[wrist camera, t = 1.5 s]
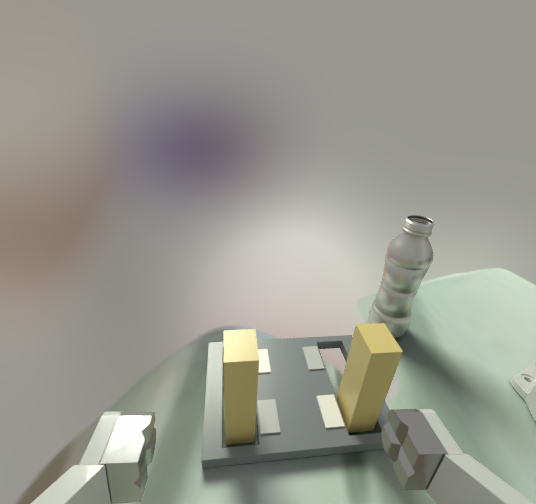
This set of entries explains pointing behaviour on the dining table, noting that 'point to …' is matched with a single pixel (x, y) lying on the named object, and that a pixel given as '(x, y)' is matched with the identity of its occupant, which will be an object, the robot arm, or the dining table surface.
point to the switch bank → (286, 406)
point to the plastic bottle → (403, 275)
